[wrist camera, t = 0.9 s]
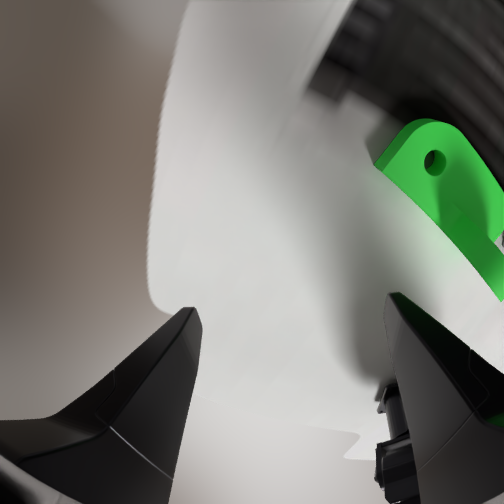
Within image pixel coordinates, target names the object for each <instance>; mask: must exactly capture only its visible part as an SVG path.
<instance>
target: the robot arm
mask: <svg viewBox="0 0 504 504" xmlns="http://www.w3.org/2000/svg"><path fill="white" fill-rule="evenodd" d="M384 322H385V327H386V332H387V338H388V343H389V349H390V355H391V360H392V364H393V368H394V371H395V375H396V378H397V382H398V383H397V384H392V385H388V386H386V388H385V390H384V393H383V396H382V399H381V401H380V404H379V407H378V409H377V412H378V414H381V413H386V415H387V421H388V426H389V432H390V437H391V440H389V441H386V442H383V443H382V442H381V443H378V444H377V448H376V449H375V450H376V470H375V477H374V479H375V481H376V482H378V483H379V485H380V488H381V490H382V491H385V499H386V500H387V501H388V502H389V503H390V504H504V374H503V373H501V372H500V371H499V370H497V369H496V368H495V367H493V366H492V365H491V364H489V363H488V362H487V361H486V360H484V359H483V358H482V357H481V356H480V355H478V354H477V353H476V352H475V351H474V350H472V349H471V350H470V347H469V346H468V345H466V344H465V343H464V342H463V341H462V340H460V339H459V338H458V337H457V336H455V335H454V334H453V333H452V332H451V331H449V330H448V329H447V328H446V327H444V326H443V325H442V324H441V323H439V322H438V321H437V320H436V319H434V318H433V317H432V316H430V315H429V314H428V313H427V312H425V311H424V310H423V309H422V308H420V307H419V306H418V305H416V304H415V303H414V302H412V301H411V300H410V299H409V298H407V297H406V296H405V295H403V294H402V293H400V292H392V293H388V294H387V297H386V303H385V309H384ZM201 339H202V324H201V321H200V318H199V315H198V312H197V310H196V308H195V307H183V308H182V309H181V310H179V311H178V312H177V313H176V314H175V315H174V316H173V317H172V318H170V319H169V320H168V321H167V322H166V323H165V324H164V325H163V326H161V327H160V328H159V329H158V330H157V331H156V332H155V333H153V334H152V335H151V336H150V337H149V338H148V339H147V340H146V341H145V342H143V343H142V344H141V345H140V346H139V347H138V348H137V349H135V350H134V351H133V352H132V353H131V354H130V355H129V356H128V357H126V358H125V359H124V360H123V361H122V362H121V363H120V364H119V365H117V366H116V367H115V369H114V370H112V371H111V372H109V374H107V375H106V376H105V377H104V378H103V379H101V380H100V381H99V382H98V383H97V384H95V385H94V386H93V387H92V388H90V389H89V390H88V391H86V392H85V393H84V394H83V395H81V396H80V397H78V398H77V399H76V400H74V401H73V402H72V403H70V404H69V405H68V406H66V407H65V408H63V409H62V410H61V411H59V412H58V413H56V414H54V415H52V416H50V417H46V418H41V419H27V420H0V504H168V502H169V497H170V492H171V487H172V483H173V480H172V479H173V478H174V473H175V468H176V463H177V459H178V455H179V449H180V445H181V441H182V436H183V432H184V428H185V423H186V419H187V415H188V410H189V406H190V402H191V397H192V393H193V389H194V385H195V380H196V376H197V371H198V365H199V356H200V348H201Z"/></svg>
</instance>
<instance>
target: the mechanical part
mask: <svg viewBox="0 0 504 504" xmlns="http://www.w3.org/2000/svg"><path fill="white" fill-rule="evenodd" d="M432 150H433V151H434V155H435V158H434V162H433V164H432V165H431V166H430V167H429V168H426V169H425V167H424V160H425V157H426V155H427V154H428V153H429V152H430V151H432ZM374 166H375V167H376V168H378V169H379V170H380V171H381V172H382V173H383V174H384V175H386V176H387V177H388V178H389V179H390V180H391V181H392V182H393V183H395V184H396V185H397V186H398V187H399V188H400V189H401V190H402V191H403V192H404V193H405V194H406V195H407V196H408V197H410V198H411V199H412V200H413V201H414V202H415V203H416V204H417V205H418V206H419V207H420V208H421V209H422V210H423V211H424V212H425V213H426V214H427V215H428V216H429V217H430V218H431V219H432V220H433V221H434V222H435V223H436V225H437V226H438V227H439V228H440V229H441V230H442V231H443V232H444V233H445V234H446V235H447V236H448V237H449V239H450V240H451V241H452V242H453V243H454V244H455V245H456V246H457V248H458V249H459V250H460V251H461V252H462V253H463V255H464V256H465V257H466V258H467V259H468V260H469V262H470V263H471V264H472V265H473V267H474V268H475V269H476V270H477V271H478V273H479V274H480V275H481V277H482V278H483V279H484V280H485V282H486V283H487V284H488V286H489V287H490V288H491V290H492V291H493V292H494V294H495V295H496V296H497V298H498V299H499V300H500V302H501V301H502V300H503V299H504V255H503V253H502V252H501V251H500V250H499V248H498V247H497V246H496V245H495V244H494V242H495V240H496V239H497V238H498V237H499V236H500V234H501V233H502V232H503V230H504V192H503V191H502V189H501V188H500V186H499V184H498V183H497V181H496V180H495V178H494V177H493V175H492V174H491V172H490V171H489V169H488V168H487V166H486V165H485V163H484V162H483V161H482V159H481V158H480V156H479V155H478V154H477V152H476V151H475V150H474V148H473V147H472V146H471V144H470V143H469V142H468V140H467V139H466V138H465V137H464V135H463V134H462V133H461V132H460V131H459V130H458V129H456V128H455V127H454V126H452V125H450V124H447V123H444V122H440V121H437V120H433V119H418V120H415V121H412V122H411V123H409V124H407V125H406V126H405V127H404V128H403V129H402V130H401V131H400V132H399V133H398V135H397V136H396V137H395V138H394V140H393V141H392V142H391V144H390V145H389V146H388V147H387V149H386V150H385V151H384V152H383V154H382V155H381V156H380V157H379V159H378V160H377V161H376V163H375V164H374Z"/></svg>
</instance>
